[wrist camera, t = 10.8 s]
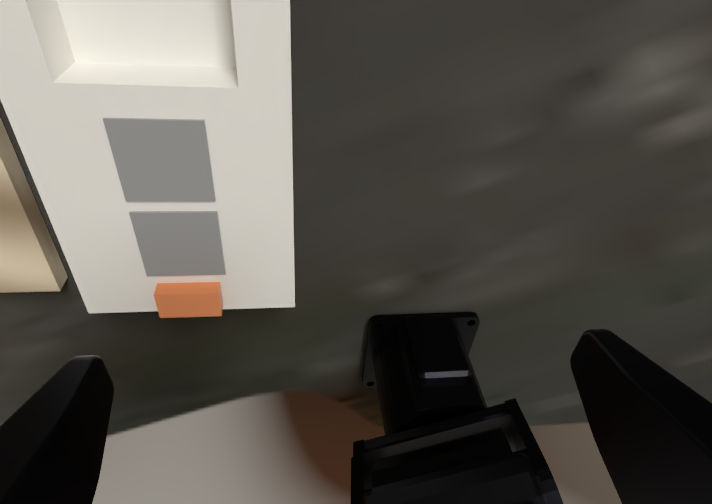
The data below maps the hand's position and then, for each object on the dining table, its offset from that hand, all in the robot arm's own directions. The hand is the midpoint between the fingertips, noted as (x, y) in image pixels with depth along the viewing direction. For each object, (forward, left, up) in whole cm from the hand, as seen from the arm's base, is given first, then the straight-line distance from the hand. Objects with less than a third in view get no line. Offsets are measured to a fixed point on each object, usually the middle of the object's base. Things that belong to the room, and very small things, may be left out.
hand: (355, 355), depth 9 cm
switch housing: (0, +6, -13) cm, 14 cm away
